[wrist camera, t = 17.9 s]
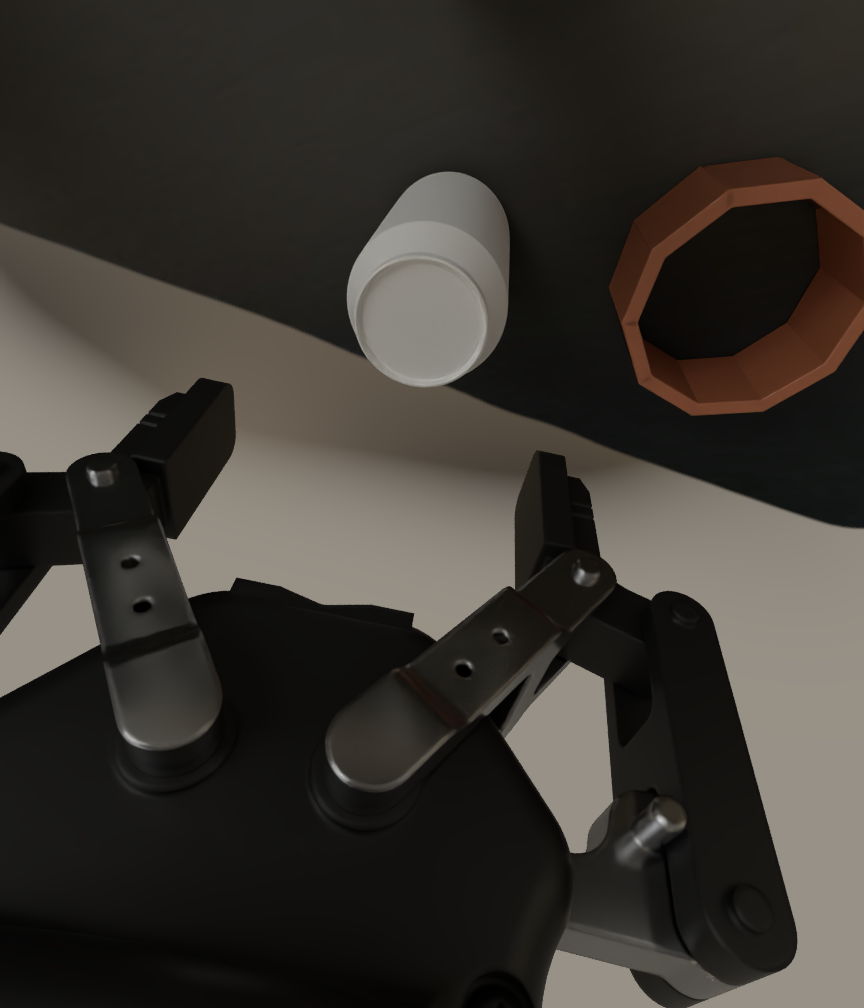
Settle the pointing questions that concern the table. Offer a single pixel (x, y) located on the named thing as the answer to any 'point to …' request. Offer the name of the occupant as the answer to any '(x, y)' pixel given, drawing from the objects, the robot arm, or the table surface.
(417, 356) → the beverage can
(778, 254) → the table surface
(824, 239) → the holder
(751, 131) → the table surface
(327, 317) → the table surface
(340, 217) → the table surface
